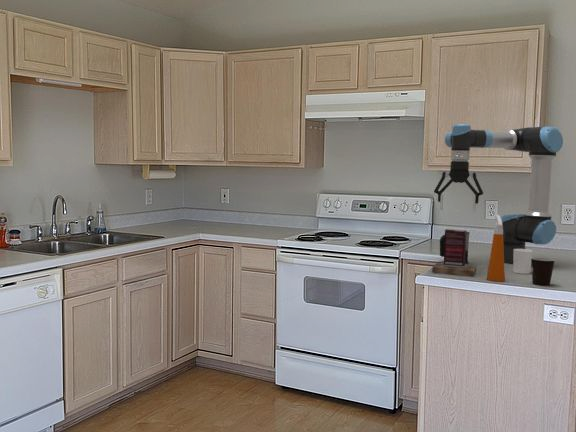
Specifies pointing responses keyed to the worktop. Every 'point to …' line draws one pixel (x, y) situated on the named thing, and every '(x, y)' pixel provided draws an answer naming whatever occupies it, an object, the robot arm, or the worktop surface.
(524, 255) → the white cup
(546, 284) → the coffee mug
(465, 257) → the black pitcher
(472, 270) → the walnut board
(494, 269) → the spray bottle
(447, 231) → the supplement box
